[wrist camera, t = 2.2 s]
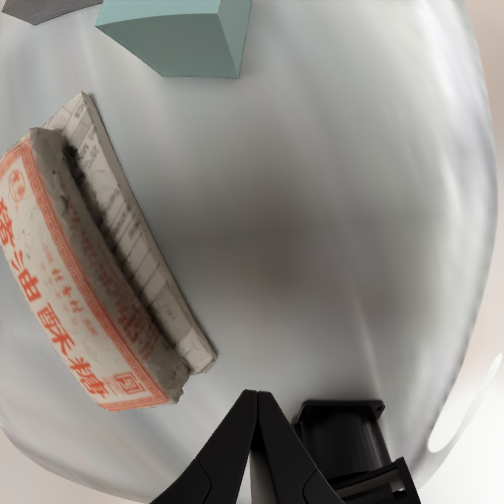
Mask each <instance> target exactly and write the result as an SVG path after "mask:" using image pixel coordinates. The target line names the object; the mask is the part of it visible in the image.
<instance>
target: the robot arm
mask: <svg viewBox="0 0 504 504" xmlns="http://www.w3.org/2000/svg"><path fill="white" fill-rule="evenodd" d="M309 407H310V408H309ZM384 408H385V405H384V403H383V402H382V401H367V402H319V401H308V402H305V403H303V405H302V406H301V409H300V412H299V414H298V417H297V420H296V422H294V423H292V424H291V425H290V423H289V422H288V420H287V418H286V417H285V415H284V413H283V412H282V410H281V408H280V407H279V405H278V403H277V402H276V400H275V398H274V397H273V395H272V393H271V392H266V391H258V392H257V391H256V390H248V389H245V390H244V391H243V392H242V393H241V395H240V396H239V398H238V399H237V401H236V402H235V404H234V405H233V406H232V408H231V409H230V411H229V412H228V414H227V415H226V416H225V418H224V419H223V421H222V422H221V423H220V425H219V426H218V428H217V429H216V430H215V432H214V433H213V434H212V436H211V437H210V438H209V440H208V441H207V443H206V444H205V445H204V447H203V448H202V449H201V450H200V452H199V453H198V454H197V456H196V457H195V459H193V461H192V462H191V463H190V465H189V466H188V467H187V468H186V469H185V471H184V472H183V473H182V474H181V475H180V476H179V478H178V479H177V480H175V481H174V482H173V483H172V484H171V485H170V486H169V487H168V488H167V489H166V490H165V491H164V492H163V493H161V494H160V495H159V496H158V497H157V498H155V499H154V500H153V501H152V502H151V503H149V504H236V501H237V497H238V493H239V490H240V486H241V482H242V479H243V475H244V471H245V467H246V463H247V459H248V456H249V452H250V478H251V498H252V504H421V502H420V499H419V496H418V494H417V491H416V488H415V485H414V483H413V480H412V478H411V475H410V472H409V470H408V467H407V465H406V462H405V460H404V457H401V458H398V459H396V460H395V461H394V462H391V459H390V456H389V453H388V450H387V447H386V444H385V441H384V438H383V435H382V432H381V430H380V427H379V424H378V421H377V420H378V419H379V417H380V415H381V414H382V412H383V410H384ZM401 488H403V490H402V491H398V490H399V489H401ZM396 490H397V491H396ZM394 491H395V492H394Z"/></svg>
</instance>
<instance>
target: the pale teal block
mask: <svg viewBox="0 0 504 504" xmlns="http://www.w3.org/2000/svg"><path fill="white" fill-rule="evenodd" d="M251 5H252V0H104V1H103V4H102V6H101V9H100V12H99V15H98V18H97V21H96V24H95V27H96V28H98V29H99V30H101V31H102V32H104V33H105V34H106V35H108V36H109V37H111V38H112V39H113V40H115V41H116V42H118V43H119V44H120V45H122V46H123V47H125V48H126V49H127V50H129V51H130V52H131V53H133V54H134V55H135V56H137V57H138V58H139V59H141V60H142V61H143V62H145V63H146V64H147V65H148V66H150V67H151V68H152V69H154V70H155V71H156V72H157V73H159V74H160V75H161V76H162V77H172V76H187V77H217V78H232V79H239V73H240V67H241V61H242V55H243V49H244V43H245V38H246V32H247V27H248V21H249V16H250V10H251Z"/></svg>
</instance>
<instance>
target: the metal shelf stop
mask: <svg viewBox="0 0 504 504" xmlns="http://www.w3.org/2000/svg"><path fill="white" fill-rule="evenodd" d="M103 1H104V0H6V2H5V5H4V7H3V9H2V11H1V12H3V13H6V14H8V15H11V16H13V17H16V18H18V19H21V20H23V21H26V22H28V23H30V24H33V25H37V24H39V23H42V22H44V21H47V20H49V19H52V18H55V17H57V16H60V15H63V14H66V13H69V12H72V11H75V10H78V9H82V8H85V7H89V6H92V5H96V4H100V3H103Z"/></svg>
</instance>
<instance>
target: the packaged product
mask: <svg viewBox="0 0 504 504" xmlns="http://www.w3.org/2000/svg"><path fill="white" fill-rule="evenodd" d="M0 245H1V247H2V250H3V252H4V254H5V258H6V260H7V262H8V264H9V266H10V269H11V271H12V273H13V276H14V278H15V280H16V281H17V284H18V286H19V288H20V289H21V291H22V294H23V296H24V298H25V299H26V301H27V303H28V305H29V307H30V310H31V311H32V313H33V314H34V316H35V317H36V319H37V321H38V322H39V324H40V326H41V328H42V330H43V332H44V333H45V335H46V336H47V338H48V339H49V341H50V343H51V344H52V345H53V347H54V349H55V351H56V352H57V353H58V355H59V356H60V357H61V359H62V360H63V362H64V363H65V364H66V366H67V367H68V368H69V370H70V371H71V373H72V375H73V376H74V377H75V378H76V380H77V381H78V382H79V384H80V385H81V386H82V387H83V388H84V390H85V391H86V393H87V394H88V396H90V397H91V399H92V400H93V401H95V402H96V403H97V404H98V405H99V406H100V407H102V408H104V409H107V410H108V411H111V412H118V411H120V410H123V411H125V410H129V409H137V408H138V409H145V408H155V407H156V406H161V405H170V404H176V403H178V401H179V398H180V396H181V395H182V394H184V393H183V390H182V387H183V386H184V384H185V383H186V382H187V381H188V379H189V376H190V375H194V374H199V373H203V372H205V373H207V371H208V370H209V369H210V368H211V367H212V366H213V365H214V363H215V361H216V358H217V357H216V354H215V353H214V351H213V350H212V348H211V346H210V345H209V343H208V341H207V340H206V338H205V337H204V335H203V333H202V332H201V330H200V328H199V327H198V325H197V324H196V322H195V321H194V319H193V317H192V315H191V313H190V311H189V309H188V307H187V305H186V303H185V301H184V299H183V297H182V295H181V293H180V291H179V289H178V287H177V285H176V283H175V281H174V279H173V277H172V274H171V272H170V271H169V269H168V267H167V265H166V263H165V261H164V259H163V257H162V255H161V253H160V251H159V249H158V247H157V245H156V243H155V241H154V239H153V237H152V235H151V232H150V230H149V228H148V226H147V223H146V221H145V219H144V217H143V215H142V213H141V210H140V208H139V206H138V204H137V202H136V200H135V197H134V195H133V193H132V191H131V189H130V187H129V184H128V182H127V180H126V177H125V175H124V173H123V170H122V168H121V166H120V163H119V161H118V159H117V157H116V155H115V152H114V150H113V148H112V145H111V143H110V141H109V138H108V136H107V134H106V131H105V129H104V127H103V124H102V122H101V119H100V117H99V114H98V112H97V109H96V107H95V105H94V103H93V101H92V99H91V97H90V96H88V95H87V94H85V93H84V92H83V91H81V92H79V93H78V94H77V95H76V96H74V97H73V98H72V99H71V100H70V101H68V102H67V103H66V104H65V105H64V106H62V107H61V108H60V110H59V111H58V112H56V113H55V114H54V115H53V116H52V117H51V118H50V119H49V120H48V121H47V122H46V123H45V124H44V125H43V126H42V127H41V128H39V127H36V128H30V129H29V131H28V133H26V134H25V135H24V136H22V137H21V138H20V139H19V140H18V141H17V142H16V143H15V144H14V145H13V146H12V147H10V148H9V149H8V150H6V151H5V153H4V154H3V156H2V158H1V159H0Z"/></svg>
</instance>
